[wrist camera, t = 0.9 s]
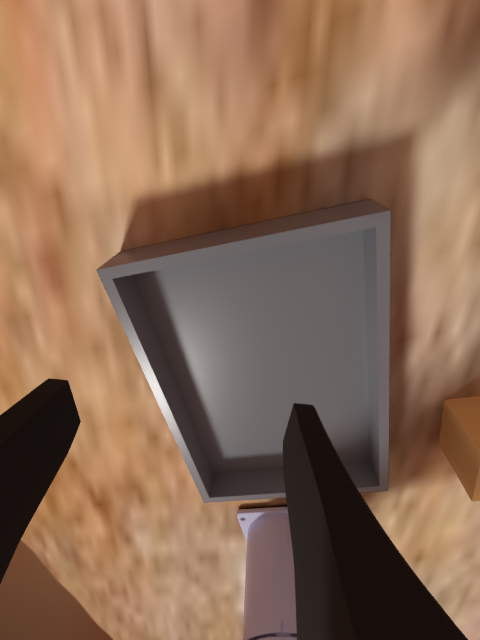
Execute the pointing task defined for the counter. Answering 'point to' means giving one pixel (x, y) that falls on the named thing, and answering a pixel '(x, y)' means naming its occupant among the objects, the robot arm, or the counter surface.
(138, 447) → the counter surface
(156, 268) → the charcoal tray
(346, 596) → the robot arm
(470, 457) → the ochre block
